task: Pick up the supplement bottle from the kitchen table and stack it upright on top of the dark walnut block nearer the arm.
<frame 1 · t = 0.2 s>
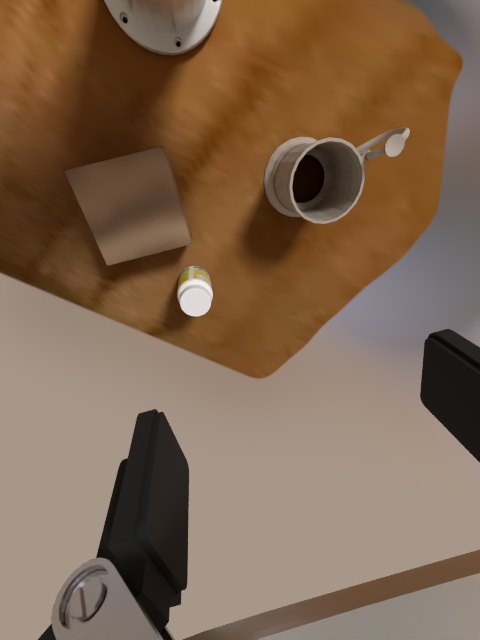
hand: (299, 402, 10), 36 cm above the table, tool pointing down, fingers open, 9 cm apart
walnut block: (139, 205, 39), on the table
mug: (313, 169, 41), on the table
supplement bottle: (194, 279, 46), on the table
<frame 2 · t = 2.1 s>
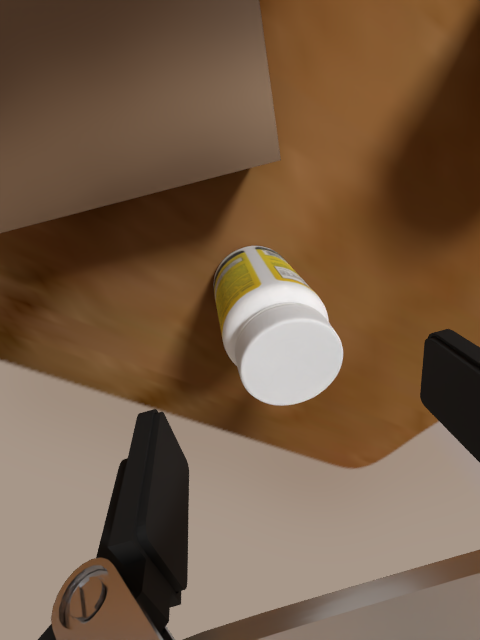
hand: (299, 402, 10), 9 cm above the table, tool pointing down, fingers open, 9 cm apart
walnut block: (100, 44, 12), on the table
supplement bottle: (251, 281, 18), on the table
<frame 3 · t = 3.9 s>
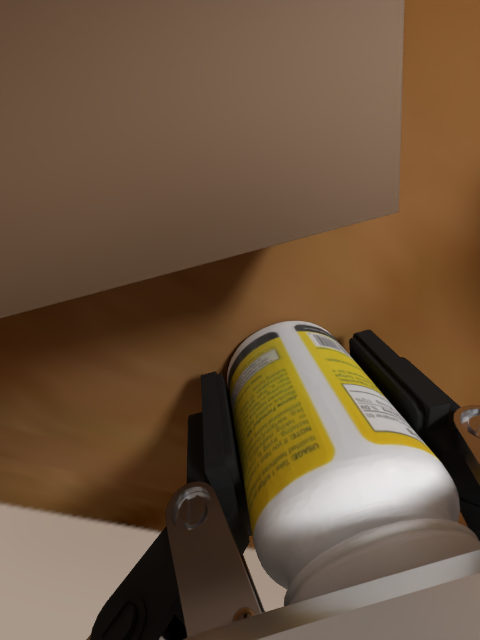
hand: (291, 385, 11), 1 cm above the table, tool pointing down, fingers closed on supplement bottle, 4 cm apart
supplement bottle: (283, 366, 12), on the table, touching gripper
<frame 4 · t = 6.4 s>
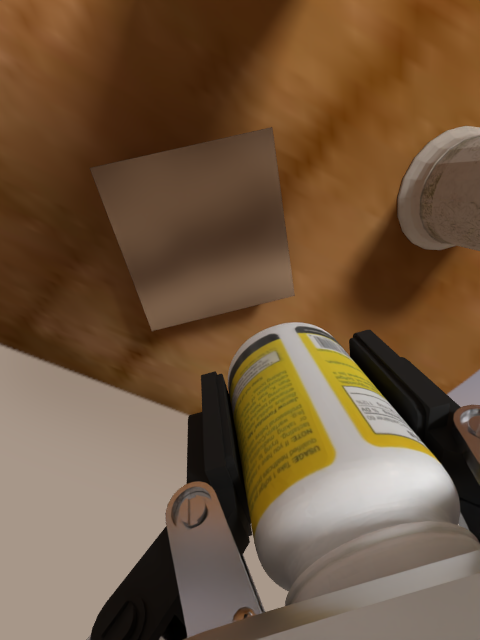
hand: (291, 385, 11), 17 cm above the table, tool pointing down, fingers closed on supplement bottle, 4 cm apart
walnut block: (203, 229, 24), on the table
mug: (472, 177, 26), on the table
supplement bottle: (283, 367, 12), point 15 cm above the table, touching gripper
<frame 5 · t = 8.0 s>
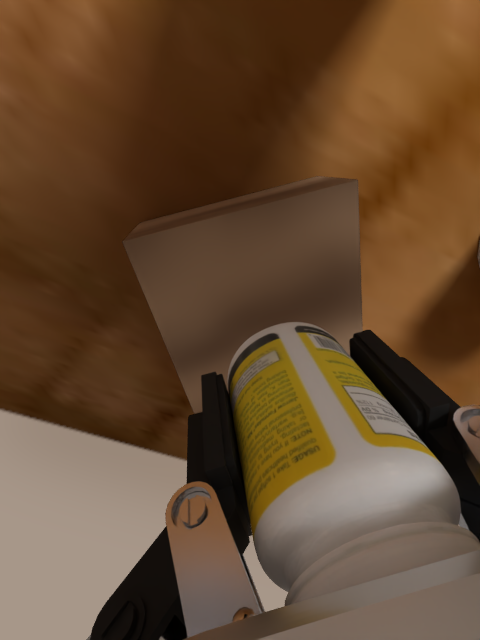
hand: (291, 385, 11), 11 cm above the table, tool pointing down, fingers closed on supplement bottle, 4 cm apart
walnut block: (248, 282, 20), on the table
supplement bottle: (283, 367, 12), point 9 cm above the table, touching gripper
when the fingers open (7 cm above the table, at t = 9.3 s): supplement bottle drops 1 cm, resting on walnut block.
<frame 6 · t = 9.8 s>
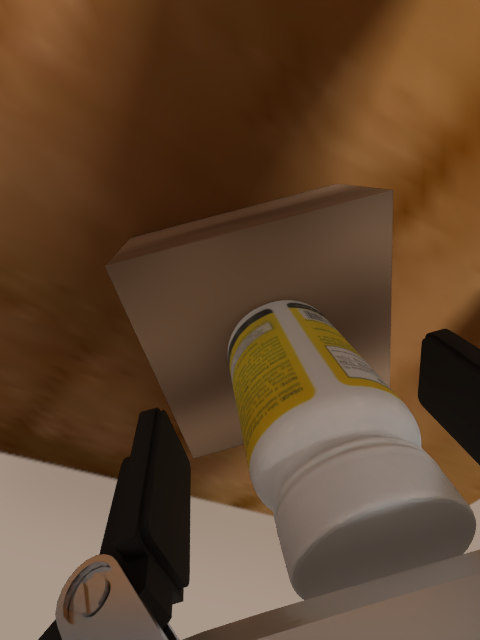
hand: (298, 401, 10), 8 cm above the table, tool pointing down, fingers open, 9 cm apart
walnut block: (255, 304, 18), on the table
supplement bottle: (278, 343, 14), point 5 cm above the table, touching walnut block
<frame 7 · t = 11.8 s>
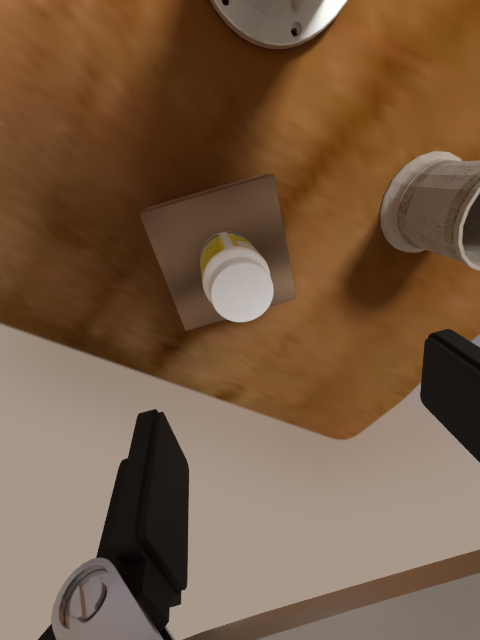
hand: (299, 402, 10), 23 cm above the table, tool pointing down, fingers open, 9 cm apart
walnut block: (220, 247, 30), on the table
mug: (443, 191, 31), on the table
supplement bottle: (227, 258, 26), point 5 cm above the table, touching walnut block
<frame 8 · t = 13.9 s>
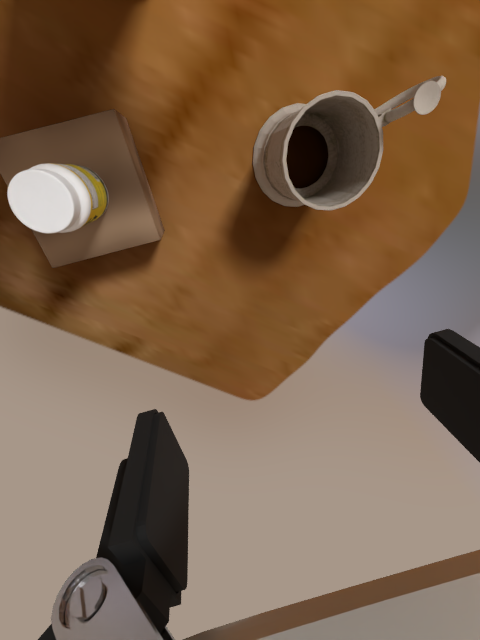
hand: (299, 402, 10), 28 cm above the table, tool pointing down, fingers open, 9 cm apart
walnut block: (96, 192, 31), on the table
mug: (314, 146, 33), on the table
supplement bottle: (82, 193, 27), point 5 cm above the table, touching walnut block
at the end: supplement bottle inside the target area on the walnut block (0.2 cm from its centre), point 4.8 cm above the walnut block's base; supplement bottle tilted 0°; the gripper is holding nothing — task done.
